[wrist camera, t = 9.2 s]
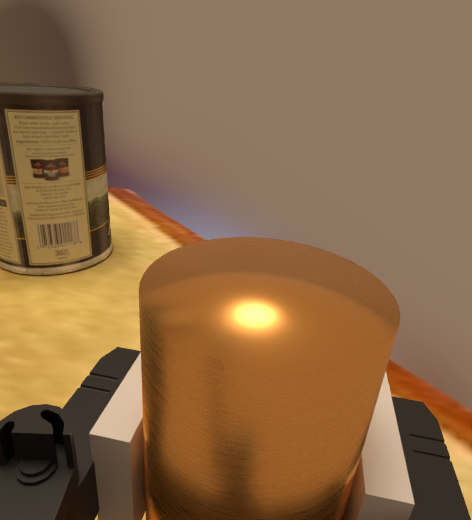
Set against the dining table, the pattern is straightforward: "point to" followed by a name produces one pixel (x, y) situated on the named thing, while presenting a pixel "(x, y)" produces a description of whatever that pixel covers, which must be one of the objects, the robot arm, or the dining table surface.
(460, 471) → the dining table surface
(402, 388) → the dining table surface
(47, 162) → the coffee can
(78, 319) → the dining table surface
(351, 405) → the sliding jaw
